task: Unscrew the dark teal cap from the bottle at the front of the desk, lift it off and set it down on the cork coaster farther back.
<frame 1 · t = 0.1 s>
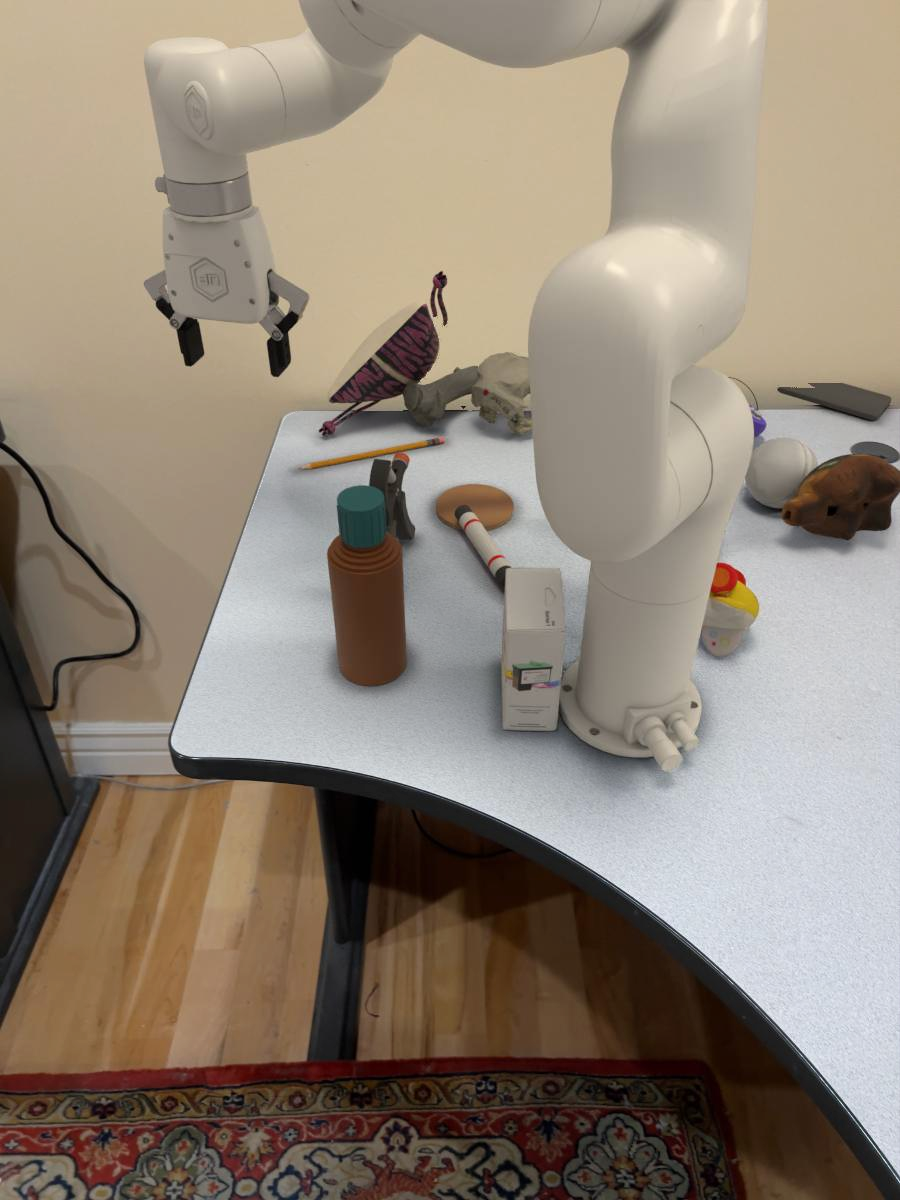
hand: (237, 366, 97), 17 cm above the table, tool pointing down, fingers open, 9 cm apart
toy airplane: (756, 622, 86), point 4 cm above the table
decorative turtle: (871, 518, 97), point 5 cm above the table
bottle: (372, 662, 87), on the table
decorative bird: (642, 539, 102), on the table
marker: (489, 560, 99), on the table, touching coaster
coaster: (474, 509, 107), on the table
cap: (360, 500, 76), point 18 cm above the table, screwed on, not yet turned
cell phone: (834, 390, 128), point 1 cm above the table
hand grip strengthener: (394, 571, 98), on the table
ink box: (527, 698, 84), on the table
game controller: (726, 443, 119), on the table
pouch: (373, 353, 113), point 11 cm above the table, touching bone
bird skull: (535, 404, 128), on the table
bone: (444, 352, 124), point 7 cm above the table, touching pouch
bath bomb: (756, 461, 104), point 6 cm above the table
pencil: (372, 451, 116), point 1 cm above the table
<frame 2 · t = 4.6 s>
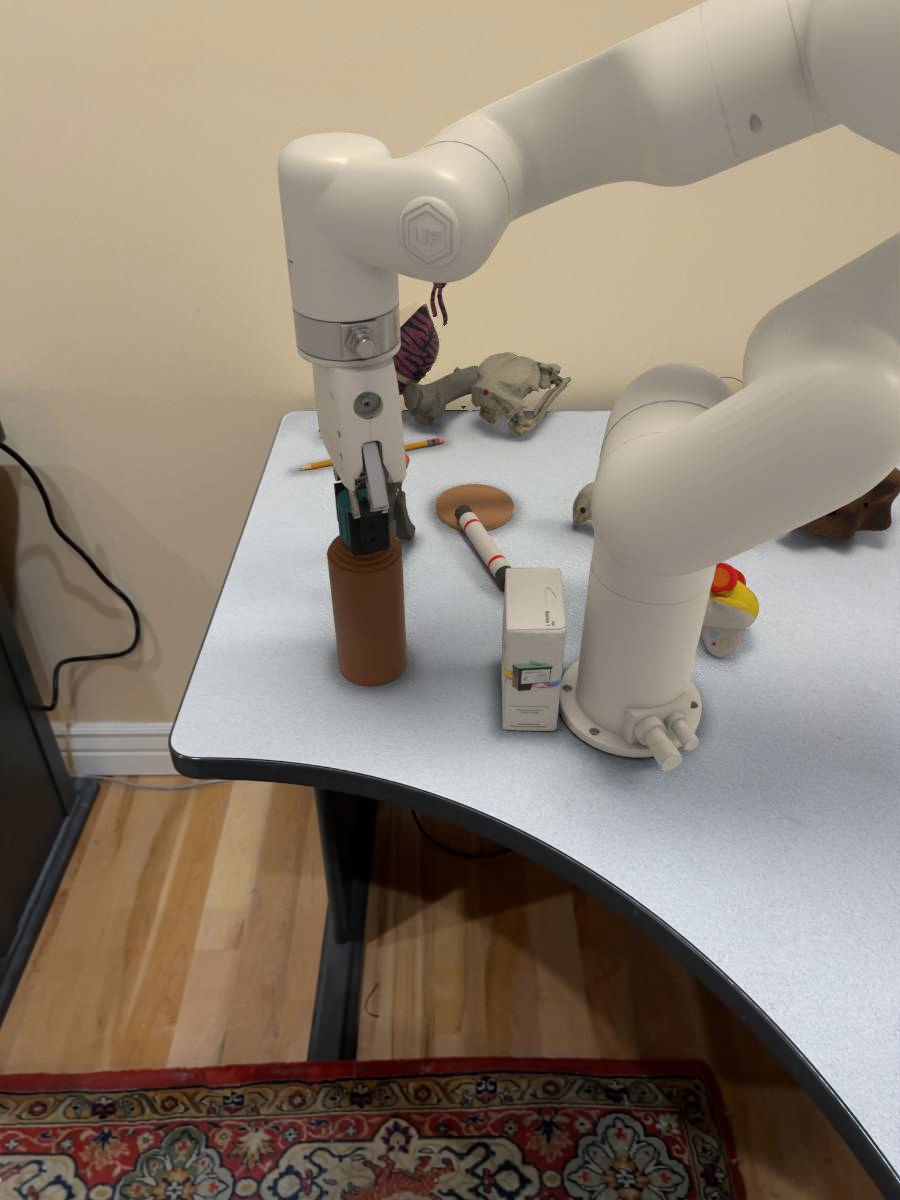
hand: (363, 533, 78), 15 cm above the table, tool pointing down, fingers closed on cap, 3 cm apart
cap: (360, 500, 76), point 18 cm above the table, screwed on, not yet turned, touching gripper
everything else where it was.
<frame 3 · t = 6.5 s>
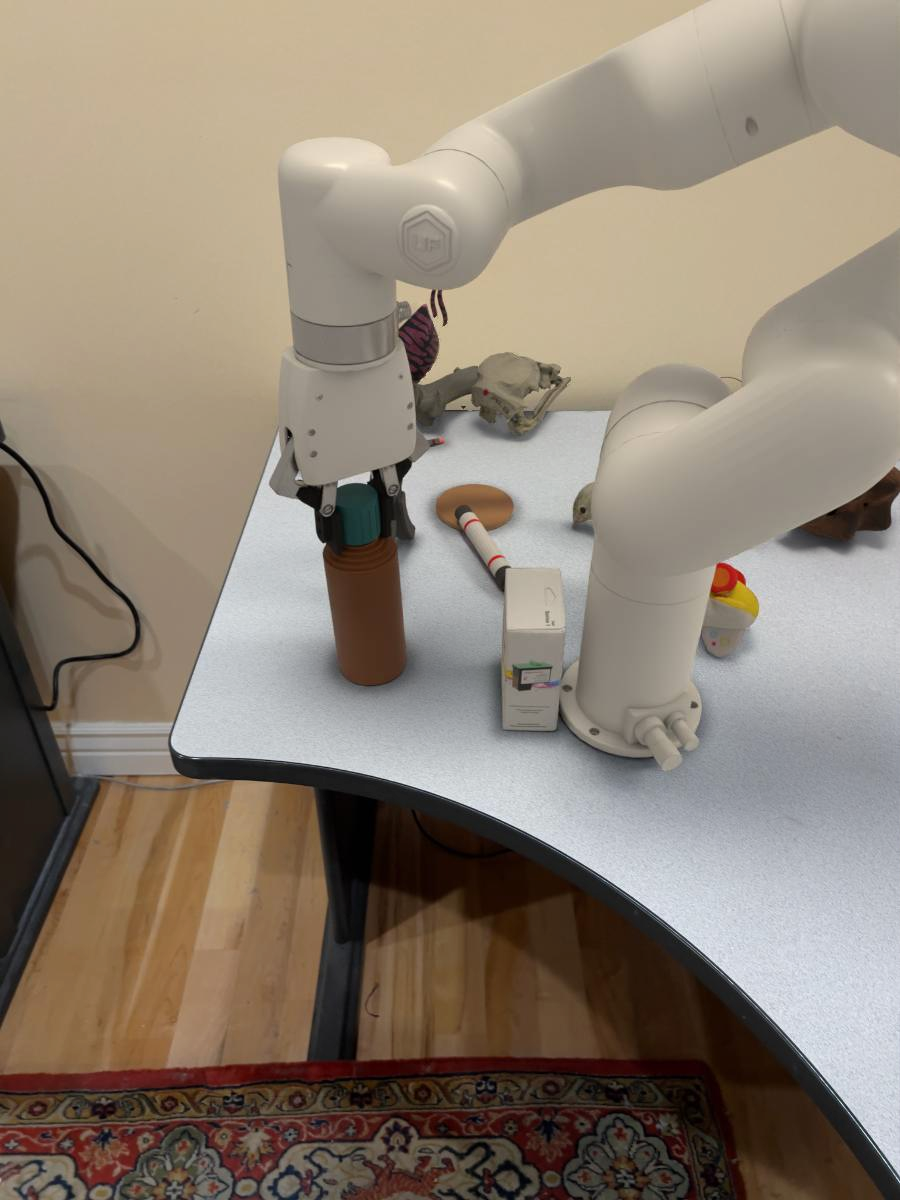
hand: (355, 535, 78), 14 cm above the table, tool pointing down, fingers closed on cap, 3 cm apart
bottle: (372, 661, 87), on the table, touching gripper
cap: (354, 498, 76), point 18 cm above the table, turned 103° so far, risen 0.1 cm, still on its thread, touching gripper
everything else where it was.
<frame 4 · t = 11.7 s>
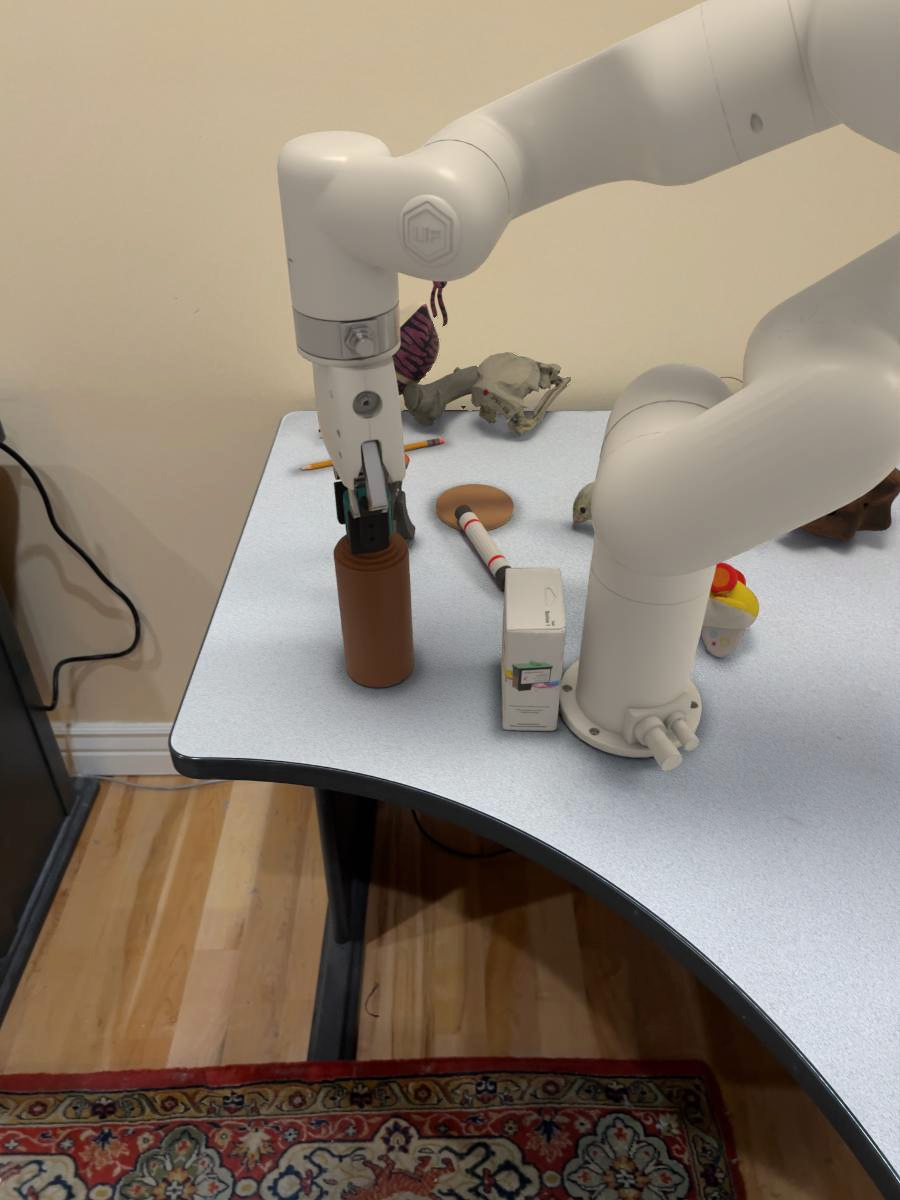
hand: (362, 533, 78), 15 cm above the table, tool pointing down, fingers closed on cap, 3 cm apart
bottle: (380, 664, 87), on the table
cap: (366, 497, 76), point 18 cm above the table, turned 102° so far, risen 0.1 cm, still on its thread, touching gripper
everything else where it was.
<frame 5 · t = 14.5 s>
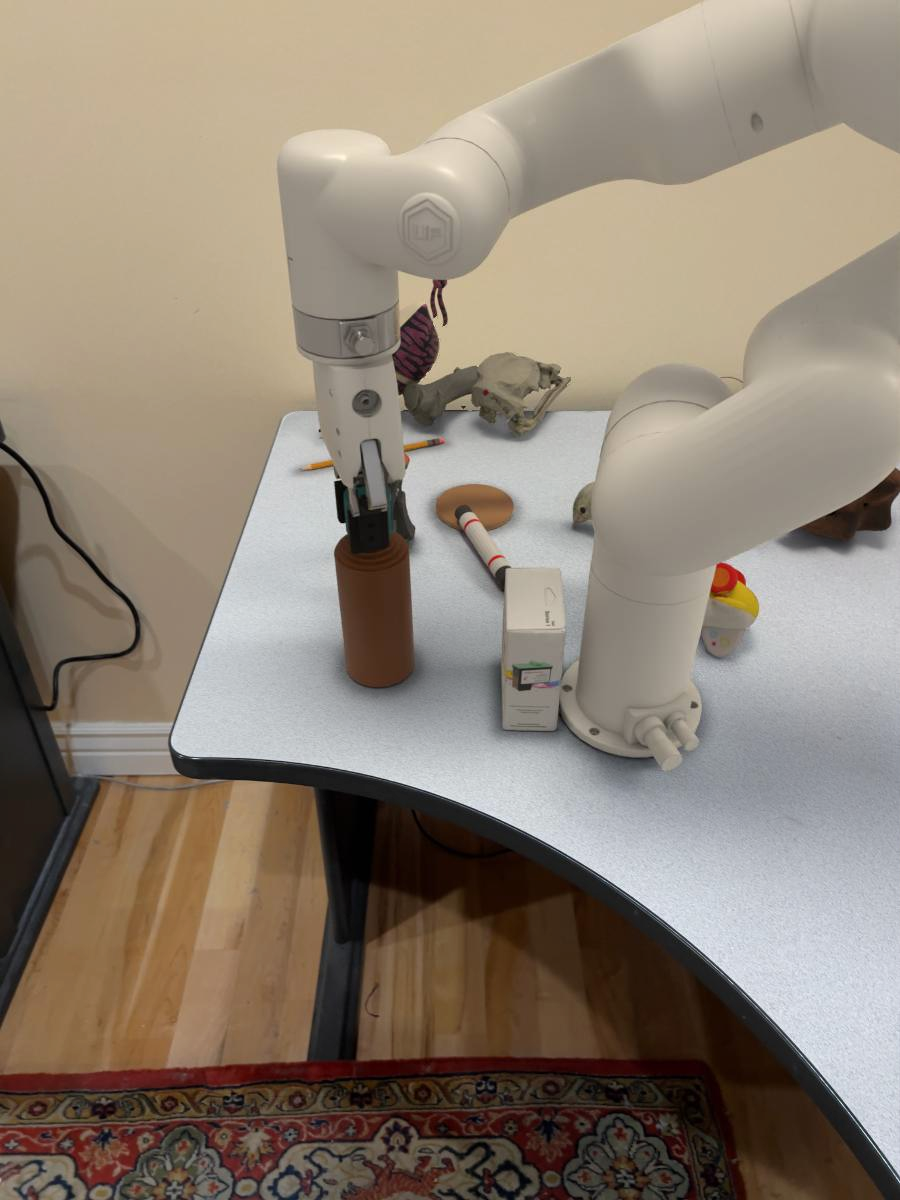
hand: (362, 532, 78), 15 cm above the table, tool pointing down, fingers closed on cap, 3 cm apart
cap: (367, 496, 76), point 18 cm above the table, turned 207° so far, risen 0.2 cm, still on its thread, touching gripper
everything else where it was.
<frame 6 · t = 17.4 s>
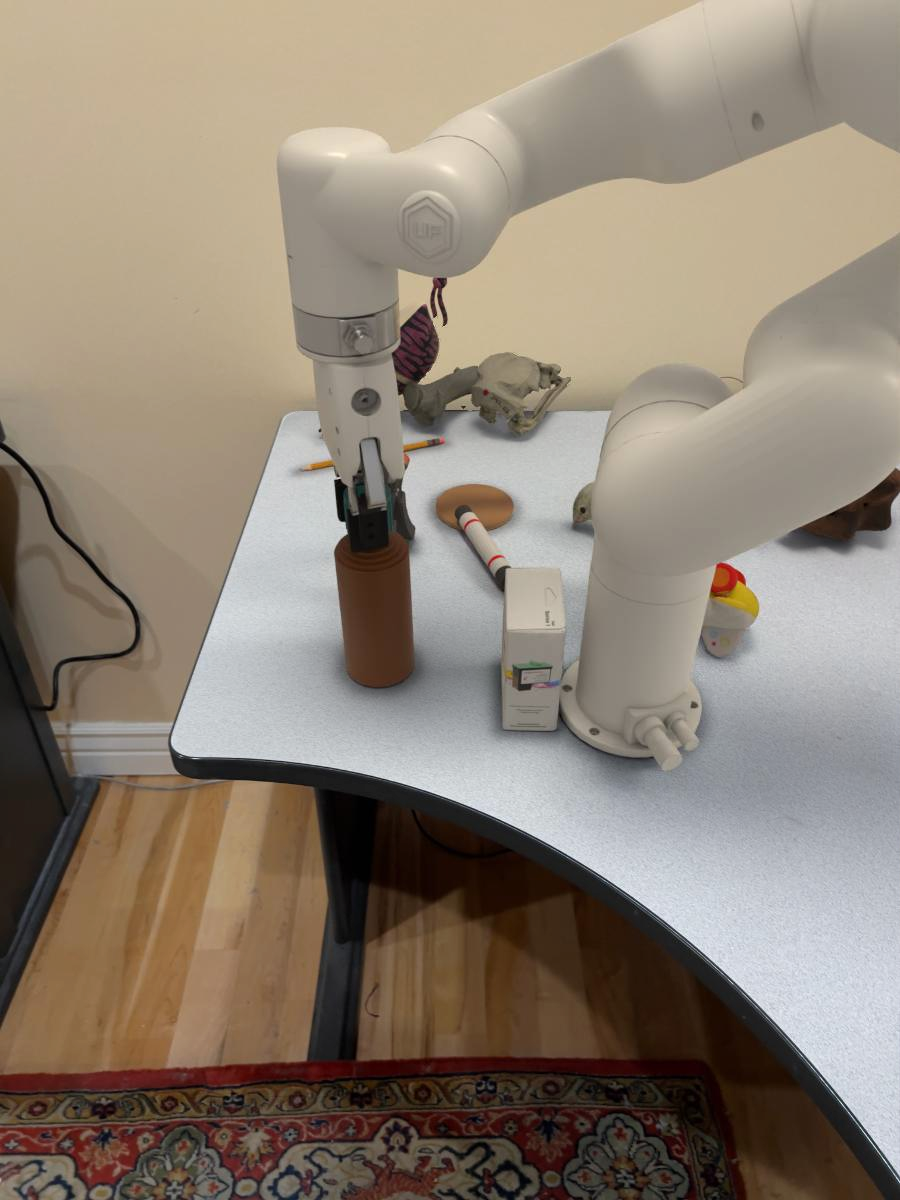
hand: (362, 530, 78), 15 cm above the table, tool pointing down, fingers closed on cap, 3 cm apart
cap: (367, 495, 76), point 19 cm above the table, turned 312° so far, risen 0.3 cm, still on its thread, touching gripper
everything else where it was.
when the fingers open (2 cm above the table, at t = 27.6 s): cap stays where it is, point 6 cm above the table.
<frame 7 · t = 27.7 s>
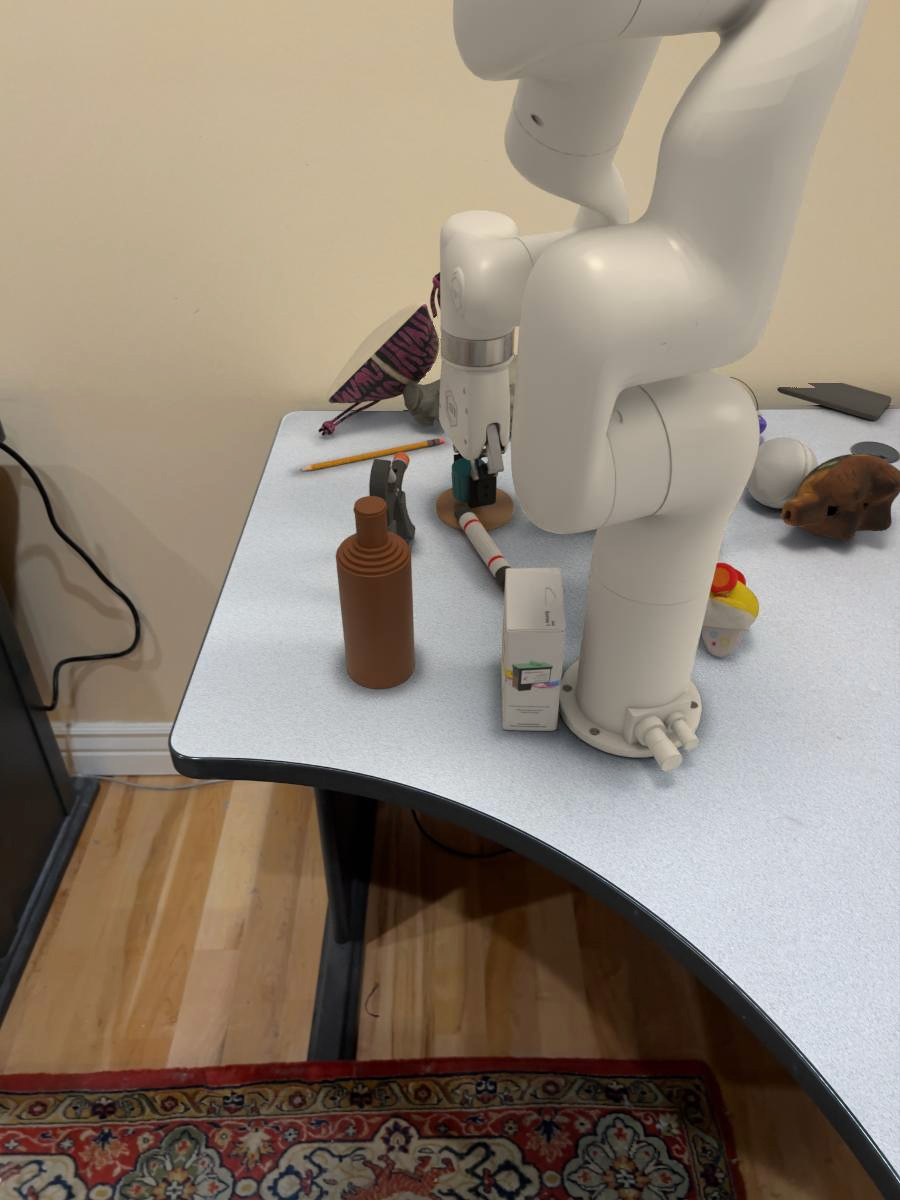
hand: (474, 492, 106), 2 cm above the table, tool pointing down, fingers open, 4 cm apart
marker: (489, 561, 99), on the table, touching coaster, gripper
cap: (468, 468, 104), point 6 cm above the table, off its thread, touching gripper
everything else where it was.
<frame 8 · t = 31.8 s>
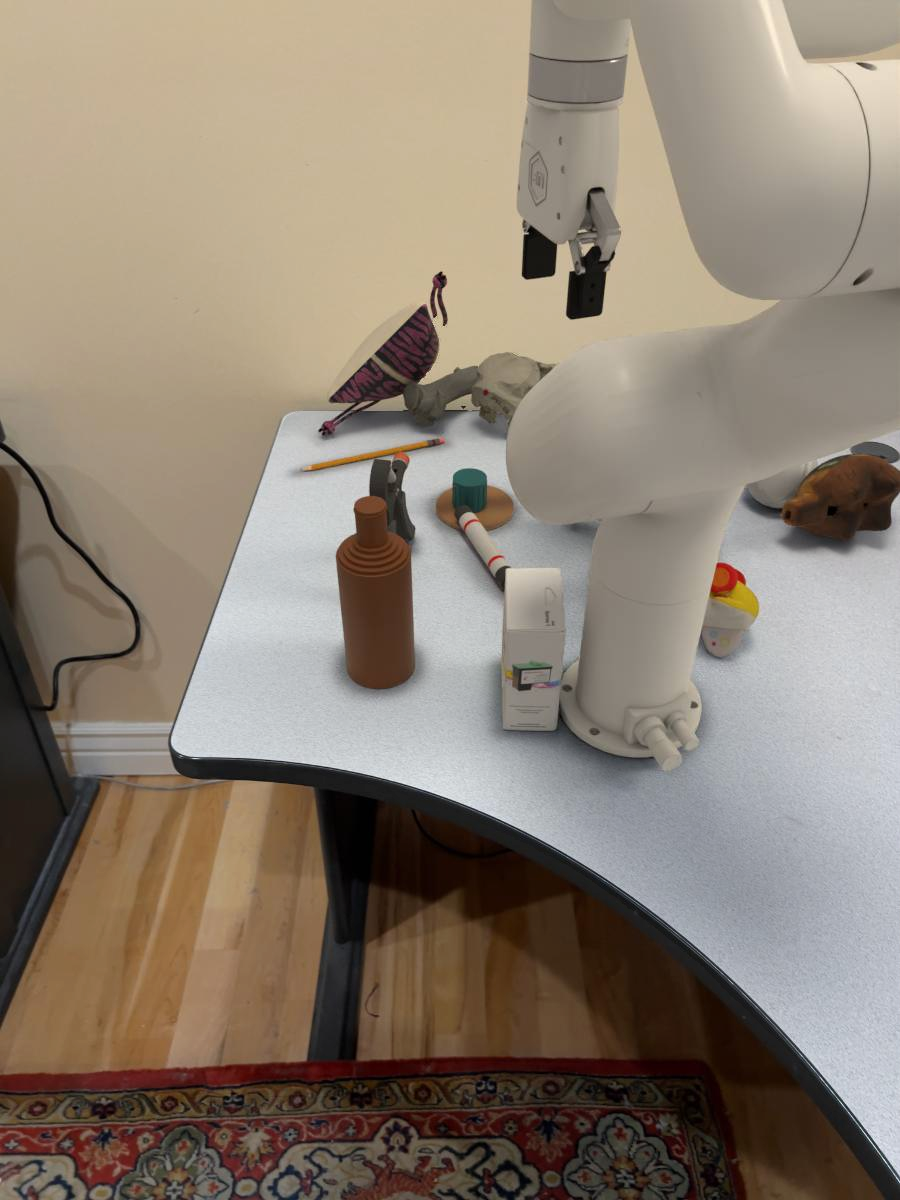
hand: (560, 296, 83), 28 cm above the table, tool pointing down, fingers open, 9 cm apart
marker: (489, 561, 99), on the table, touching coaster
cap: (469, 479, 105), point 4 cm above the table, off its thread, touching coaster
everything else where it was.
at the end: cap came off its thread; cap inside the target area on the coaster (0.6 cm from its centre), point 4.0 cm above the coaster's base; the gripper is holding nothing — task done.
